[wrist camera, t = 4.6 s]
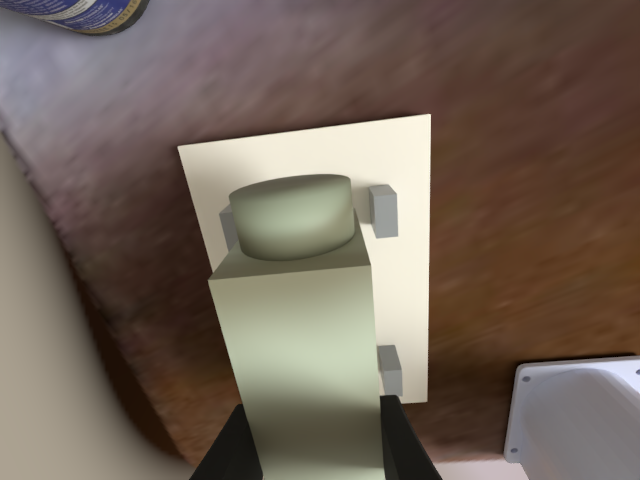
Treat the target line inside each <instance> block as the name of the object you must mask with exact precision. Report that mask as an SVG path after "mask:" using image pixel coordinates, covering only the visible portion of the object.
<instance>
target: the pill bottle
mask: <svg viewBox="0 0 640 480" xmlns="http://www.w3.org/2000/svg"><path fill="white" fill-rule="evenodd" d="M148 3H149V0H0V6H1V7H4V8H6V9H9V10H13V11H16V12H18V13H21V14H24V15H27V16H30V17H33V18H37V19H40V20H43V21H46V22H49V23H52V24H55V25H58V26H61V27H64V28H67V29H70V30H73V31H76V32H79V33H82V34H85V35H90V36H101V35H111V34H114V33H119V32H121V31H123V30H125V29H127V28H129V27H130V26H131V25H133V24H134V23H135V22H136V21H137V20H138V19H139V18H140V17H141V16H142V14H143V12H144V10H145V9H146V8H147V5H148Z"/></svg>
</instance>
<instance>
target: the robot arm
mask: <svg viewBox="0 0 640 480" xmlns="http://www.w3.org/2000/svg"><path fill="white" fill-rule="evenodd" d="M380 410H381V413H380V419H381V434H382V449H383V464H384V473H385V478H386V480H442V478H441V476H440V475H439V473H438V471H437V470H436V468H435V467H434V465H433V463H432V461H431V460H430V458H429V456H428V455H427V453H426V451H425V449H424V448H423V446H422V444H421V442H420V441H419V439H418V437H417V435H416V433H415V431H414V429H413V427H412V425H411V424H410V421H409V419H408V417H407V415H406V413H405V411H404V409H403V406H402V404H401V402H400V399H399V397H398V396H397V395H380ZM504 458H505V460H506V461H507V462H508V463H520V464H521V465H522V467H523V469H524V471H525V473H526V474H527V476H528V478H529V480H640V356H626V357H612V358H597V359H583V360H568V361H554V362H539V363H525V364H521V365H519V366H518V367H517V370H516V376H515V382H514V389H513V395H512V402H511V409H510V415H509V422H508V428H507V435H506V442H505V448H504ZM262 479H263V471H262V468H261V464H260V461H259V457H258V454H257V450H256V447H255V443H254V440H253V436H252V433H251V429H250V426H249V422H248V420H247V417H246V413H245V410H244V406H243V404H238V405H237V406H236V407H235V409H234V411H233V412H232V414H231V416H230V417H229V419H228V420H227V422H226V424H225V425H224V427H223V429H222V430H221V432H220V433H219V435H218V437H217V438H216V440H215V441H214V443H213V445H212V446H211V448H210V449H209V451H208V452H207V454H206V455H205V457H204V458H203V460H202V461H201V463H200V464H199V466H198V467H197V469H196V470H195V472H194V473H193V475H192V476H191V478H190V479H189V480H262Z"/></svg>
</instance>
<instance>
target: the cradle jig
mask: <svg viewBox="0 0 640 480" xmlns="http://www.w3.org/2000/svg"><path fill="white" fill-rule="evenodd" d="M430 134H431V114H422V115H414V116H406V117H398V118H390V119H383V120H375V121H367V122H359V123H351V124H344V125H336V126H328V127H320V128H312V129H305V130H297V131H289V132H281V133H273V134H266V135H258V136H250V137H242V138H234V139H227V140H219V141H211V142H203V143H195V144H188V145H182V146H177V147H178V151H179V154H180V158H181V161H182V165H183V168H184V172H185V175H186V179H187V182H188V186H189V190H190V193H191V197H192V200H193V204H194V207H195V211H196V214H197V218H198V221H199V225H200V228H201V232H202V236H203V239H204V243H205V246H206V250H207V253H208V257H209V260H210V264H211V267H212V271H213V273H214V271H215V270H216V269H217V267H218V266H219V265H220V263H221V262H222V261H223V259H224V258H225V257H226V255H227V254H228V253H229V251H230V250H231V249H232V247H233V246H234V245H235V243H236V242H237V241H238V235H237V231H236V227H235V222H234V218H233V214H232V209H231V205H230V201H229V195H230V194H231V193H232V192H233V191H235V190H237V189H239V188H242V187H245V186H248V185H251V184H254V183H258V182H262V181H267V180H272V179H277V178H283V177H290V176H298V175H309V174H338V175H344V176H347V177H349V178H350V179H351V191H352V203H353V208H355V210H356V213H357V217H358V220H359V224H360V227H361V231H362V234H363V238H364V241H365V245H366V249H367V252H368V256H369V259H370V263H371V270H372V285H373V301H374V316H375V332H376V348H377V363H378V379H379V394H380V395H397V396H398V397H399V399H400V402H401V403H417V402H427V382H428V299H429V217H430Z"/></svg>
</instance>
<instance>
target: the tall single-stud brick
mask: <svg viewBox="0 0 640 480" xmlns="http://www.w3.org/2000/svg"><path fill="white" fill-rule="evenodd" d="M229 201H230V205H231V209H232V214H233V218H234V222H235V227H236V231H237V235H238V241H237V242H236V243H235V245H234V246H233V247H232V249H231V250H230V251H229V253H228V254H227V255H226V257H225V258H224V259H223V261H222V262H221V263H220V265H219V266H218V267H217V269H216V270H215V271H214V273H213V274H212V275H211V277H210V278H209V279H208V283H209V287H210V290H211V294H212V297H213V301H214V304H215V308H216V311H217V315H218V318H219V322H220V325H221V329H222V332H223V336H224V339H225V343H226V346H227V350H228V353H229V357H230V361H231V364H232V368H233V371H234V375H235V378H236V382H237V385H238V389H239V392H240V396H241V399H242V403H243V406H244V410H245V413H246V417H247V420H248V422H249V426H250V429H251V433H252V436H253V440H254V443H255V447H256V450H257V454H258V457H259V461H260V464H261V468H262V471H263V476H264V480H385V473H384V464H383V449H382V434H381V419H380V413H381V410H380V394H379V379H378V363H377V348H376V332H375V316H374V301H373V285H372V270H371V263H370V259H369V256H368V252H367V249H366V245H365V241H364V238H363V234H362V231H361V227H360V224H359V220H358V217H357V213H356V210H355V208H353V203H352V191H351V179H350V178H349V177H347V176H344V175H338V174H309V175H298V176H290V177H283V178H277V179H272V180H267V181H262V182H258V183H254V184H251V185H248V186H245V187H242V188H239V189H237V190H235V191H233V192H232V193H231V194H230V195H229Z"/></svg>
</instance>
